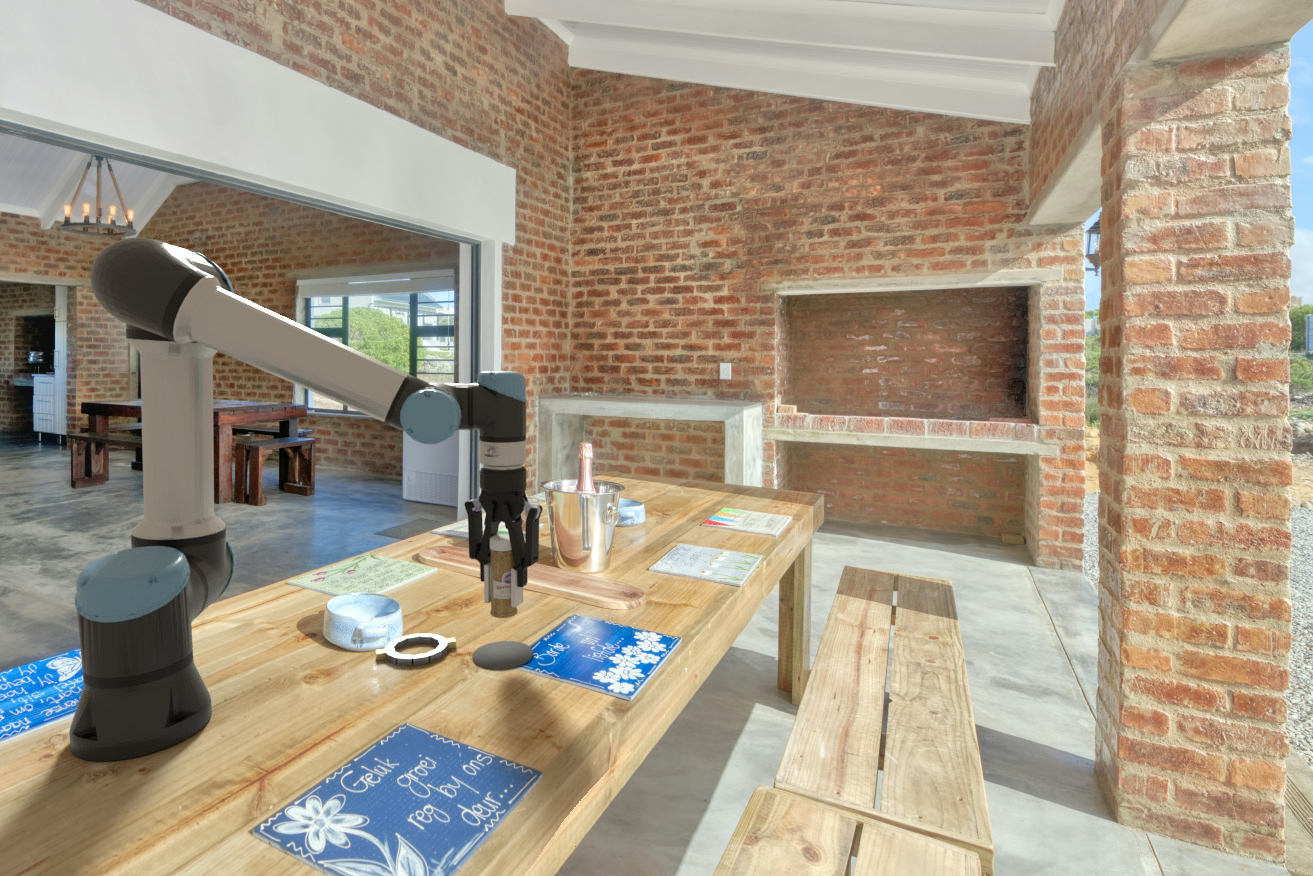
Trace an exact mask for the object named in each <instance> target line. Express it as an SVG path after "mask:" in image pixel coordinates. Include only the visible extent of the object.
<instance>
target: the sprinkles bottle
mask: <svg viewBox="0 0 1313 876" xmlns="http://www.w3.org/2000/svg"><path fill="white" fill-rule="evenodd" d="M490 551H491V566H490V595H491V602H490V615H491V616H492V617H494V618H496V619H507V618H512V617H514V616H516V615H517V613H518V612H519V611H518V606H517V607H511V569H512V568H513V567H514V566H515V562H514V557H513V553H512V548H511V543H510V538H509V533H499V534H498V533H497V535H494V536H492V537H491V538H490Z"/></svg>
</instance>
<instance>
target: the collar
mask: <svg viewBox="0 0 1313 876" xmlns="http://www.w3.org/2000/svg"><path fill="white" fill-rule="evenodd" d="M414 644H415V645H416V644H431V645H433V646H436V648H435V649H432V650H429V651H428V652H423V653H418V654H403V653H400V652H398V650H399V649H401V648H403V647H406V646H409V645H414ZM455 648H456V649H457V640H456V638H455V637H449V638H446V637H445V636H442V635H439V634H438V633H437V634H435V633H425V632H422V633H420V632H419V633H412V634H407V635H402V636H400V637H397V638H394V639H393V640H390V642H389V643H387V645H385V647H384V648H381V649H380V648H379V649H375V658H376V661H377V662H379V661H385V660H386V661H387V662H389V663H391V664H393V665H397V666H405V667H412V666H415V667H416V666H420V665H425V664H429V663H433V662H436V661H437V660H439V659H442V658H444V656H445V655H447V653H448V651H449V650H450V649H455Z"/></svg>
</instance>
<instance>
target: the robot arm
mask: <svg viewBox="0 0 1313 876" xmlns="http://www.w3.org/2000/svg"><path fill="white" fill-rule="evenodd" d="M91 266H92V267H91V269H90V275H89V276H90V277H89V279H90V285H91V286H90V287H91V290H92V292H93V294H94V297H95V298H96V300H97V302H98V303H99V304H100V306H101V307H102V308H103V309H104V310H105V312H106V313H109V315H111V317H112V316H113V318H115V319H117V320H119V321H120V322H122V323H124V324H125V337H126V339H125V340H126V342H127V343H129V344H130V345H131V346H132V347H133V348H134V349H136V350H137V352H138V353H139V355H140V356H139V359H140V387H141V388H140V396H141V398H140V399H141V400H140V401H141V406H140V407H141V441H142V442H141V443H142V480H143V481H142V485H143V518H142V520H140V521H139V522H138V523H137V524H136V525H135V526H134V527H133V528H131V531H130V548H127V549H123V550H120V551H118V552H117V553H114V554H111V553H110V554H107V555H104V556H102V557H99V558H98V559H96V560H93V561H92V562H90V563H89V564H87V565H86V566H84V567H83V569H82V570H81V571H80V572H79V574H78V576H77V579H76V584H75V585H76V593H75V596H74V605H75V609H76V612H77V613H76V615H77V625H78V636H79V646H80V647H79V648H80V659H81V668H82V669H81V670H82V679H83V687H82V691H81V693H80V697H79V699H78V702H77V706H76V709H75V711H74V715H73V718H72V721H71V723H70V727H69V734H68V735H69V736H68V737H69V745H70V746H69V747H70V751H71V753H72V754H73V755H74V756H76V757H77V758H80V759H83V760H87V761H93V762H97V761H98V762H110V761H121V760H126V759H127V760H128V759H133V758H137V757H141V756H145V755H150V754H152V753H155V752H159V751H162V750H163V749H167V748H169V747H172V746H174V745H176V744H178V743H180V742H182V741H184V740H186V739H189V738H190V737H191V736H193V735H194V734H196V733H197V732H199V731H200V730H202V729H203V728H204V727H205V726H206V725H207V724H208V723H209V721H210V720H211V717H212V714H213V710H212V709H213V707H212V697H211V695H210V692H209V690H208V688H207V685H206V684H205V682H204V680H203V678H202V676H201V675H200V673H199V670H198V669H197V666H196V664H195V663H194V662H195V661H194V649H193V647H194V645H193V643H194V642H193V630H192V625H193V624H192V623H193V621H194V620H195V619H196V618H197V617H199V616H200V615H201V614H202V613H203V612H204V611H205V610H206V609H207V608H208V607H209V606H211V605H212V604H213V603H215V602H216V601H217V599H219V598H221V596H223V594H224V592H226V590H227V589H228V588H229V585H230V584H231V582H232V580H233V577H234V575H235V572H236V567H237V557H236V552H235V549H234V547H233V546H232V543H230V541H228V540H227V525H226V522H225V521H224V520H222V519H221V518H220V517H218V516H217V515H216V514H215V489H214V488H215V483H214V482H215V479H214V478H215V474H214V473H215V471H214V468H215V465H214V464H215V463H214V462H215V461H214V459H215V458H214V457H215V455H214V454H215V453H214V373H213V372H214V371H213V369H214V367H213V363H214V362H213V361H214V359H213V358H214V356H215V355H216V354H217V353H218V352H220V353H221V354H224V355H226V356H228V357H231V358H233V359H235V360H238V361H240V362H243V363H244V364H248V365H249V366H251V367H254V368H256V369H259V370H261V371H263V372H266V373H268V374H270V375H273V376H274V377H275V376H276V377H278V378H280V379H282V380H284V381H287V382H290V383H292V384H294V385H296V386H299V387H301V388H304V389H305V390H309V391H311V392H313V393H315V394H317V395H319V396H322V397H325V398H327V399H329V400H331V401H334V402H335V403H336V402H337V403H339V404H341V405H344V406H346V407H348V408H350V409H353V410H355V411H357V412H360V413H361V414H365V415H367V416H369V417H371V418H373V419H375V420H378V421H381V422H383V423H385V424H388V425H389V426H391V427H393V428H395V429H397V430H400V431H402V432H404V433H405V434H407V435H408V436H409V437H410V438H411V439H412V440H414V441H416V442H418V443H420V444H423V445H436V444H439V443H442V442H445V441H447V440H448V439H449V438H452V437H453V436H454V434H455V433H456V432H457V431H473V430H474V431H475V430H476V431H477V430H478V433H479V435H478V441H479V442H478V443H479V445H478V446H479V448H478V450H479V453H478V454H479V464H480V465H482V466H481V467H480V468H479V474H478V475H479V488H480V494H479V496H478V498H473V499H470V500H468V501H465V502H464V507H465V510H466V514H467V524H468V525H467V527H468V528H467V529H468V531H467V533H468V557H469V559H471V560H476V561H478V563H479V565H480V566H479V572H480V573H479V579H480V581H481V582H484V583H483V585H484V586H483V587H484V589H483V590H484V591H483V592H484V594H483V595H484V599H483V600H484V604H491V595H490V566H491V551H490V538H491V537H492V536H494V535H497V534H498V533H499V529H500V528H499V526H500V524H501V523H504V527H505V529H507V532H508V533H507V534H509V538H510V543H511V548H512V553H513V557H514V562H515V566H514V567H513V568H512V569H511V607H517V608H518V607H519V605H521V604H522V603H524V587H525V586H527V584H528V582H529V581H528V568H529V567H532V566H533V565H535V564H536V563H538V562H539V559H540V558H539V556H540V555H539V554H540V553H539V552H540V551H539V548H540V518H541V515H542V512H543V506H542V505H540V504H538V505H535V504H533V503H531V502H529V498H528V497H527V494H526V489H527V468H526V467H525V464H526V463H527V387H526V377H525V376H524V375H523V374H522V373H521V372H519V371H511V370H507V371H506V370H493V371H492V370H483V371H480V372H479V374H478V377H477V381H476V382H472V383H456V382H455V383H454V382H453V383H452V382H451V383H450V382H427V381H424V379H423V380H422V379H421V378H418V377H416V376H414V375H410V374H409V373H407V372H405V371H402V370H400V369H398V368H396V367H393V366H391V365H390V364H387V363H385V362H383V361H382V360H381V361H380V360H378V359H376V358H374V357H372V356H370V355H367V354H365V353H364V352H361V351H359V350H356V349H355V348H352V347H350V346H348V345H345V344H344V343H341V342H339V341H337V340H335V339H333V338H330V337H328V336H326V335H323V334H322V333H319V332H318V331H315V330H313V329H311V328H309V327H307V326H304V325H303V324H301V323H297V322H295V321H294V320H291V319H289V318H287V317H285V316H282V315H280V314H278V313H276V312H274V311H272V310H269V309H267V308H264V307H263V306H260V305H258V304H257V303H254V302H253V301H251V300H248V299H246V298H243V297H242V296H239V295H237V294H235V290H234V287H233V283H232V281H231V280H230V278H229V276H227V274H226V272H225V271H224V270H223V269H222V268H221V267H220V266H219V265H218V264H216V263H215V262H214V261H212V260H211V259H210V258H209V257H206V255H203V254H202V253H200V252H197V251H195V250H193V249H186V248H183V247H179V246H176V245H172V244H170V243H167V242H165V241H162V240H158V239H153V238H149V237H130V238H124V239H121V240H118V241H115V242H112V243H111V244H109V245H108V246H106V247H104V248H103V249H102V250H101V252H99V254H98V255H96V257H95V259H94V261H93V262H92V265H91ZM482 510H483V511H484V512H485V518H484V523H483V512H482ZM523 511H525V512H524V516H525V517H526V519H525V526H524V527H525V530H523V526H522V525H523V518H522V513H523ZM483 525H484V530H483ZM524 531H525V534H524Z"/></svg>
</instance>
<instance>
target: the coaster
mask: <svg viewBox="0 0 1313 876" xmlns="http://www.w3.org/2000/svg"><path fill="white" fill-rule="evenodd" d="M533 653H534V651H533V648H532V647H531V646H529V645H528V644H526V643H523V642H520V641H515V640H514V641H512V640H502V641H501V640H499V641H494V642H490V643H486V644H483V645H482V646H481V645H480V646H479V647H478V648H476V649H475V650H474V652H473V653H472V661H473V663H474V664H475V665H477V666H478V667H480V668H484V669H489V670H506V669H507V670H508V669H513V668H516V667H520V666H523V665H524V664H526V663H528V662H529V661H531V660H532V658H533V655H534V654H533Z"/></svg>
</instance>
